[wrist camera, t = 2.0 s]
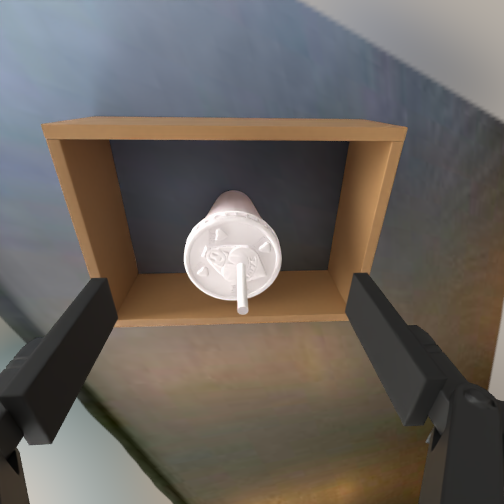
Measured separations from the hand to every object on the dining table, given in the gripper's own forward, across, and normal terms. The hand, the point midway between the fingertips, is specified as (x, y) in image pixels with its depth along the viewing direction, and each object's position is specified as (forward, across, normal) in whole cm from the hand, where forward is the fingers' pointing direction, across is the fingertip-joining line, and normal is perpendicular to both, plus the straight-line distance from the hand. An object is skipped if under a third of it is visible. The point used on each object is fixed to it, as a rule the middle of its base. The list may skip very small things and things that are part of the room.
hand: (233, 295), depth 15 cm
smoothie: (+13, 0, 0) cm, 13 cm away
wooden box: (+13, 0, 0) cm, 13 cm away
